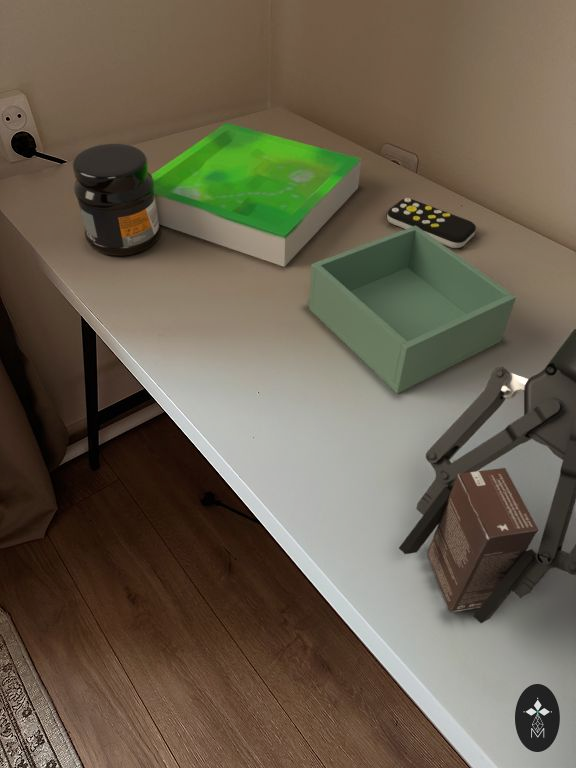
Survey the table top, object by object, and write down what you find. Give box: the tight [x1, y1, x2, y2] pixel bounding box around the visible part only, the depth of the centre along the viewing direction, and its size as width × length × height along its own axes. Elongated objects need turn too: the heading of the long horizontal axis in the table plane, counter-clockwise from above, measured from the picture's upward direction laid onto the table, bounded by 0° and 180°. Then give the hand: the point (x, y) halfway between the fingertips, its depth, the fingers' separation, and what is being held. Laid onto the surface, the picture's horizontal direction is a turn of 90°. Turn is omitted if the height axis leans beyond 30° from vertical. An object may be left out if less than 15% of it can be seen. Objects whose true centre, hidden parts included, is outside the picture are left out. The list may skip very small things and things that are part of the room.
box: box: [427, 467, 539, 613], centre depth 52 cm, size 6×4×12 cm
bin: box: [308, 226, 517, 394], centre depth 77 cm, size 18×17×7 cm
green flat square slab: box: [150, 122, 362, 268], centre depth 98 cm, size 25×25×5 cm
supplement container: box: [72, 143, 161, 257], centre depth 88 cm, size 10×10×12 cm
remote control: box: [386, 197, 477, 249], centre depth 95 cm, size 6×13×2 cm, turn 53°
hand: (443, 582), depth 52 cm, fingers closed on box, 7 cm apart
